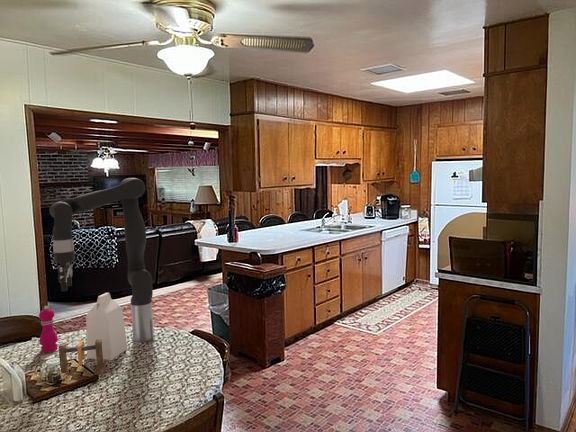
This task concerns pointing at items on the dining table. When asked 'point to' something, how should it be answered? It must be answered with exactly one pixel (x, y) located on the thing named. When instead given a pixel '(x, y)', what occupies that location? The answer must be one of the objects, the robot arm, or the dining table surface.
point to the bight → (80, 352)
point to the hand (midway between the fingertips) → (66, 288)
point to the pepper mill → (47, 331)
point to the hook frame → (97, 346)
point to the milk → (106, 328)
